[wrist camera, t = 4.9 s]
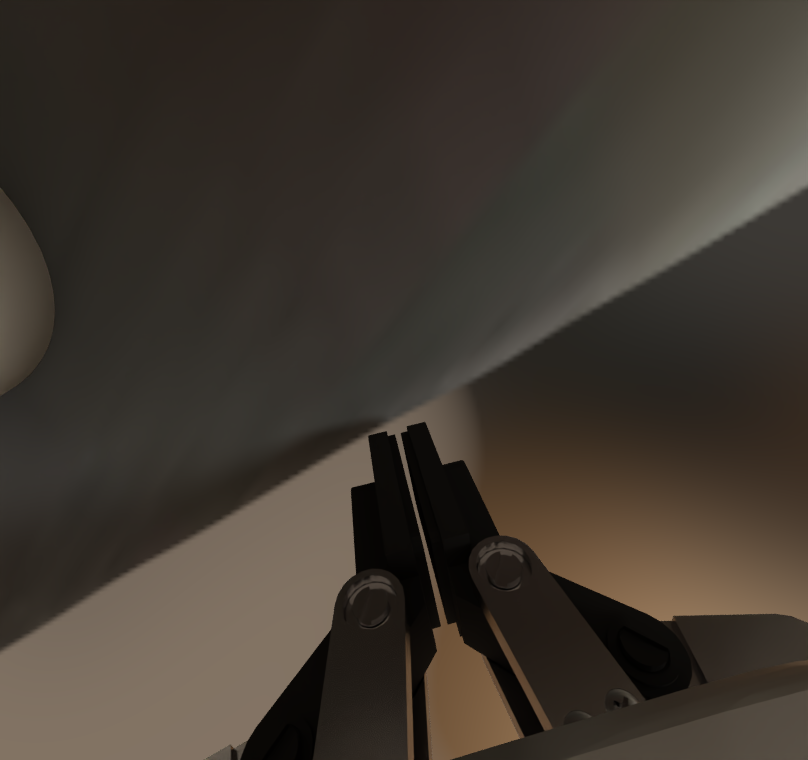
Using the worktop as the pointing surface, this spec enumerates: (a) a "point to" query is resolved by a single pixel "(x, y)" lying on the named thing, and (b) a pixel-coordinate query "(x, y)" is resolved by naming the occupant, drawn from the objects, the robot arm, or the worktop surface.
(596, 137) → the worktop surface
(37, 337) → the cream egg shape
